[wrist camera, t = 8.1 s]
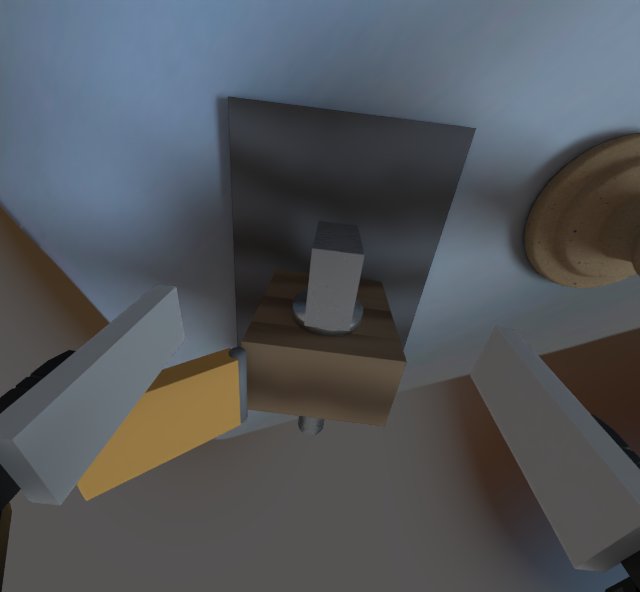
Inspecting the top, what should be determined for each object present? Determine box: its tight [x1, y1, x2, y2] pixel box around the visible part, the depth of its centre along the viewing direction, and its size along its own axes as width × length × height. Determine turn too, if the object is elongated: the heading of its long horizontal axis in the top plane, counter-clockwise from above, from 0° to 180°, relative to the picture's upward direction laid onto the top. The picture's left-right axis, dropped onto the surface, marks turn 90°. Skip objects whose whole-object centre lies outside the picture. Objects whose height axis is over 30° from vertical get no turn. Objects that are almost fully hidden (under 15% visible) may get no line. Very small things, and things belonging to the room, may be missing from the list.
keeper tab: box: [77, 347, 248, 501], centre depth 15 cm, size 6×9×1 cm
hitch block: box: [228, 97, 476, 426], centre depth 22 cm, size 24×18×12 cm
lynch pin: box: [292, 221, 365, 435], centre depth 22 cm, size 18×5×6 cm, turn 174°
